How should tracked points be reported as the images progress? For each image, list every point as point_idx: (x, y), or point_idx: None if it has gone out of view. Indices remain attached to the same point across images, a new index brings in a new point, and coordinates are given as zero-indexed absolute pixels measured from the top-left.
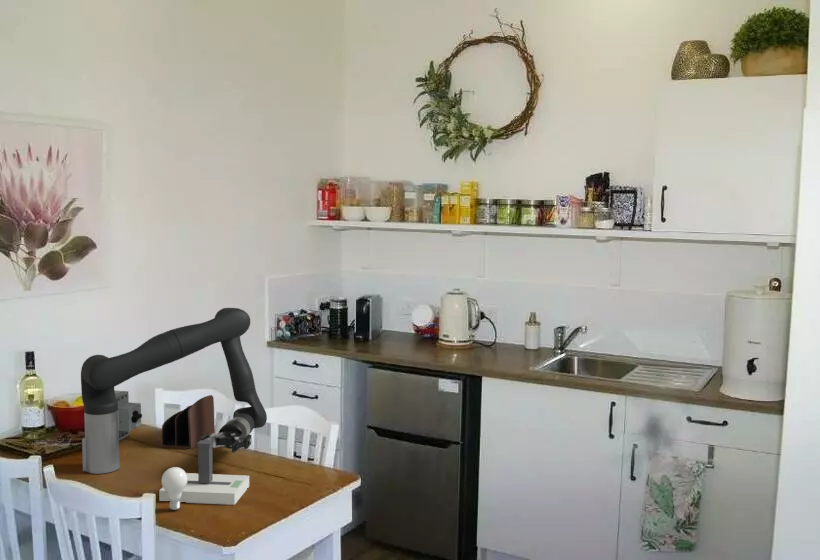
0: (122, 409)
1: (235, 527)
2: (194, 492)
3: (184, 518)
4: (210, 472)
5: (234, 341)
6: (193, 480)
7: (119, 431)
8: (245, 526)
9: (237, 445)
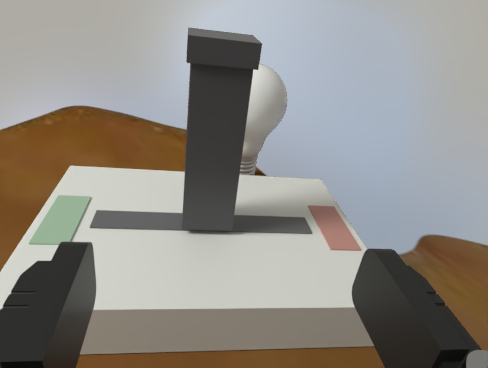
0: None
1: (67, 132)
2: None
3: None
4: (184, 177)
5: None
6: (268, 237)
7: None
8: (43, 133)
9: (22, 277)
